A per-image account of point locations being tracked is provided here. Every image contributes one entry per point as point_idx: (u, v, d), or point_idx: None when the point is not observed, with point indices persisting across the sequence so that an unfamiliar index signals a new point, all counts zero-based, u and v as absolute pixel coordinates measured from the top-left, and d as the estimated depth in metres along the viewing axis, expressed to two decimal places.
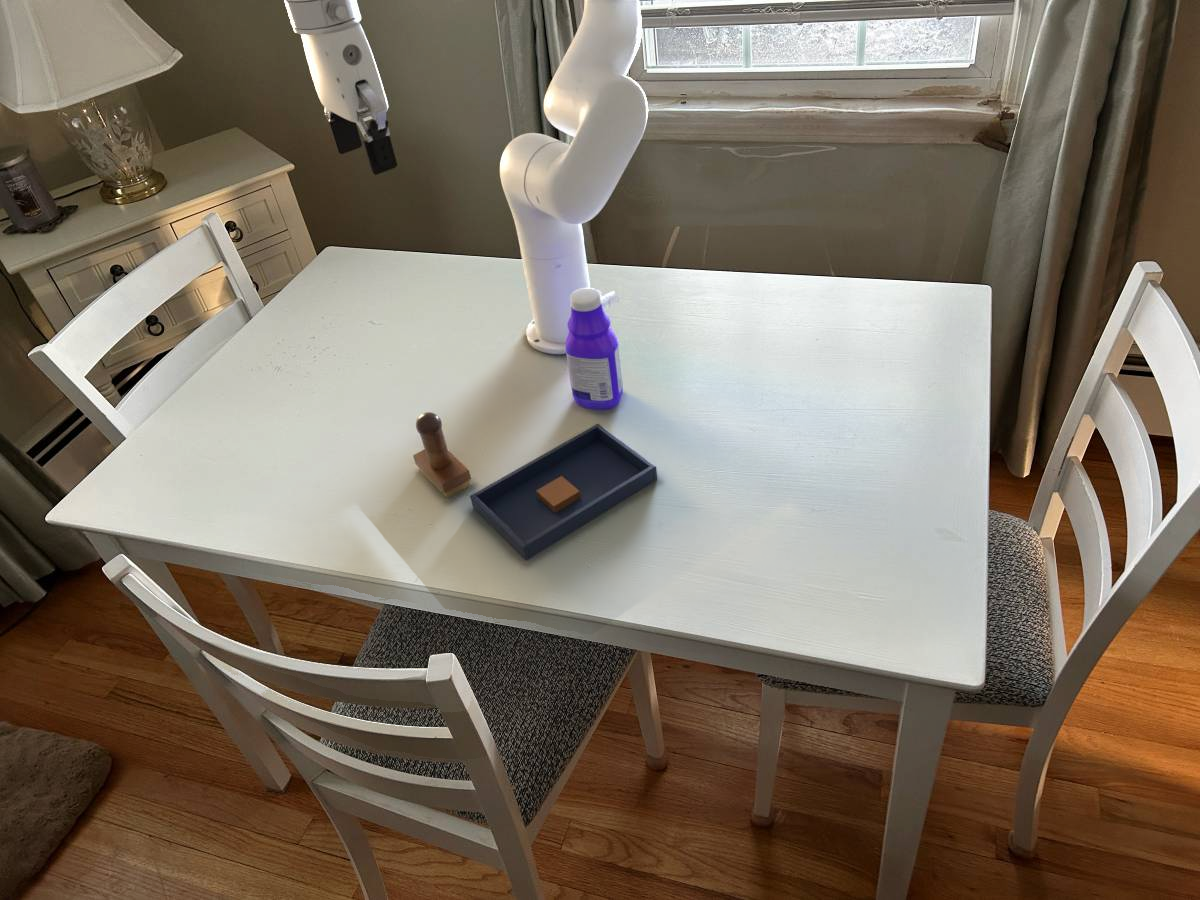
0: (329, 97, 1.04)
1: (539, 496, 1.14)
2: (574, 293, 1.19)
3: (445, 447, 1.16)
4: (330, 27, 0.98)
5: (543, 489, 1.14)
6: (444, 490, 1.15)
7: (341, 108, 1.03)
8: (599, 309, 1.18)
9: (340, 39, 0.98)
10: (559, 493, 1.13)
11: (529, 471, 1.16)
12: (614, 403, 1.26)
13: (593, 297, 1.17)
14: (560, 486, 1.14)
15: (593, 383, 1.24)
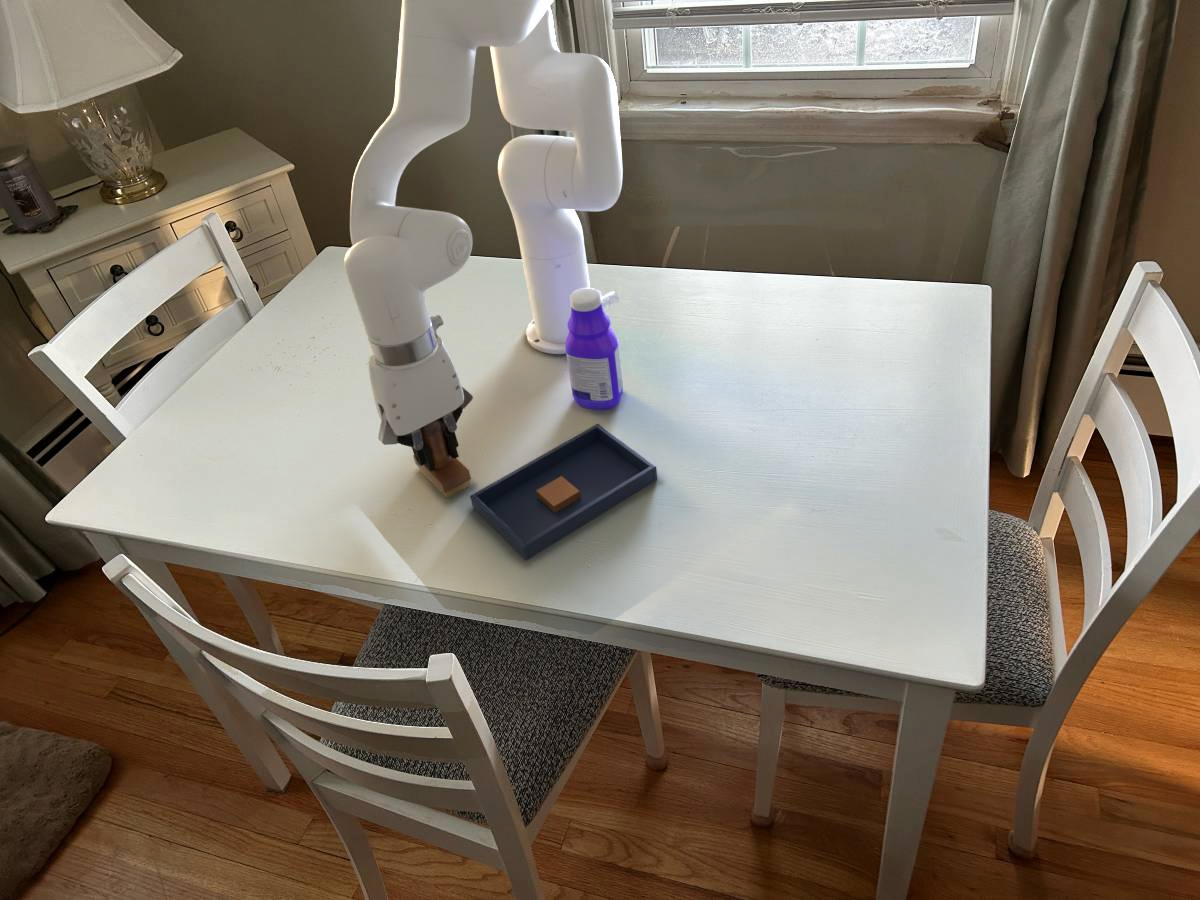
0: (431, 408, 1.10)
1: (539, 496, 1.14)
2: (574, 293, 1.19)
3: (445, 447, 1.16)
4: None
5: (543, 489, 1.14)
6: (444, 490, 1.15)
7: (449, 404, 1.12)
8: (599, 309, 1.18)
9: None
10: (559, 493, 1.13)
11: (529, 471, 1.16)
12: (614, 403, 1.26)
13: (593, 297, 1.17)
14: (560, 486, 1.14)
15: (593, 383, 1.24)
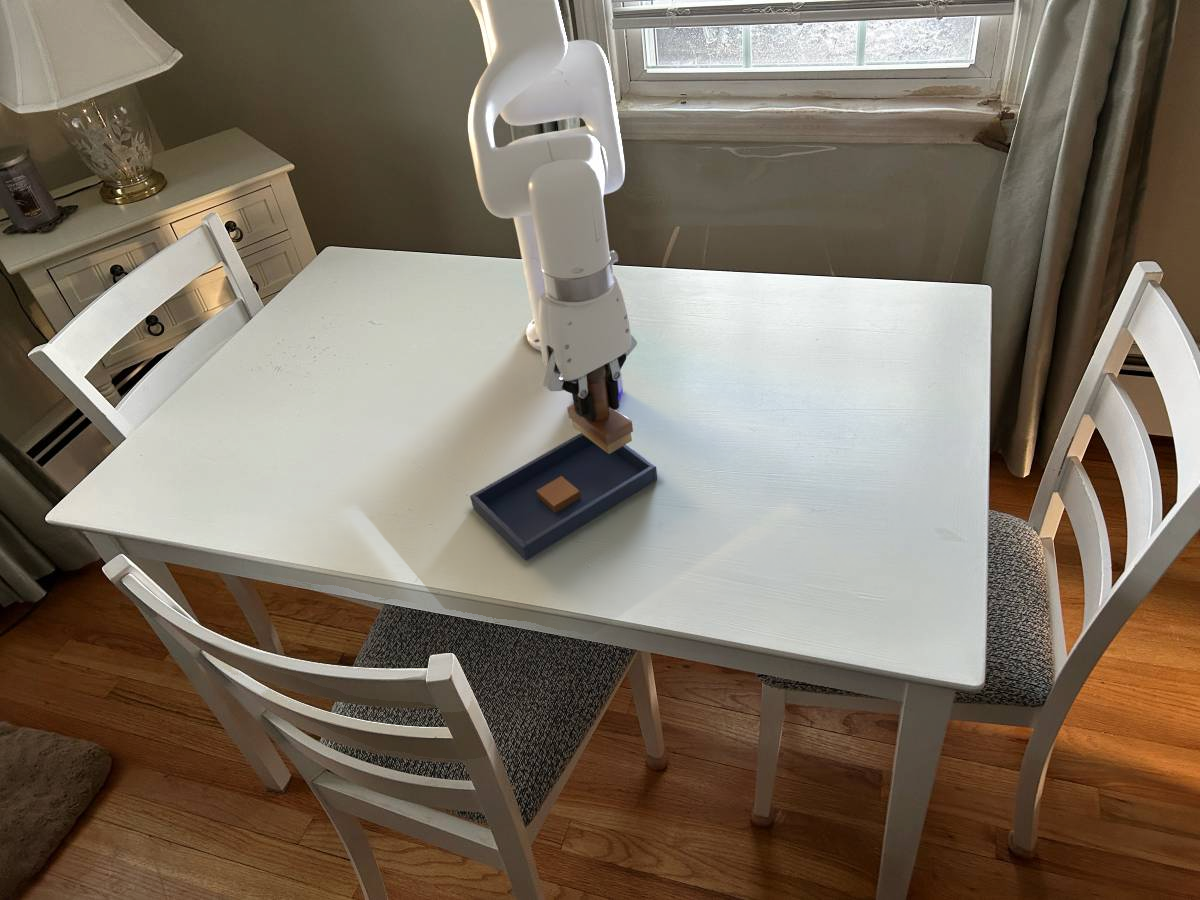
0: (600, 352, 1.03)
1: (539, 496, 1.14)
2: None
3: (607, 397, 1.09)
4: None
5: (543, 489, 1.14)
6: (607, 442, 1.08)
7: (617, 348, 1.04)
8: None
9: None
10: (559, 493, 1.13)
11: (529, 471, 1.16)
12: None
13: None
14: (560, 486, 1.14)
15: None
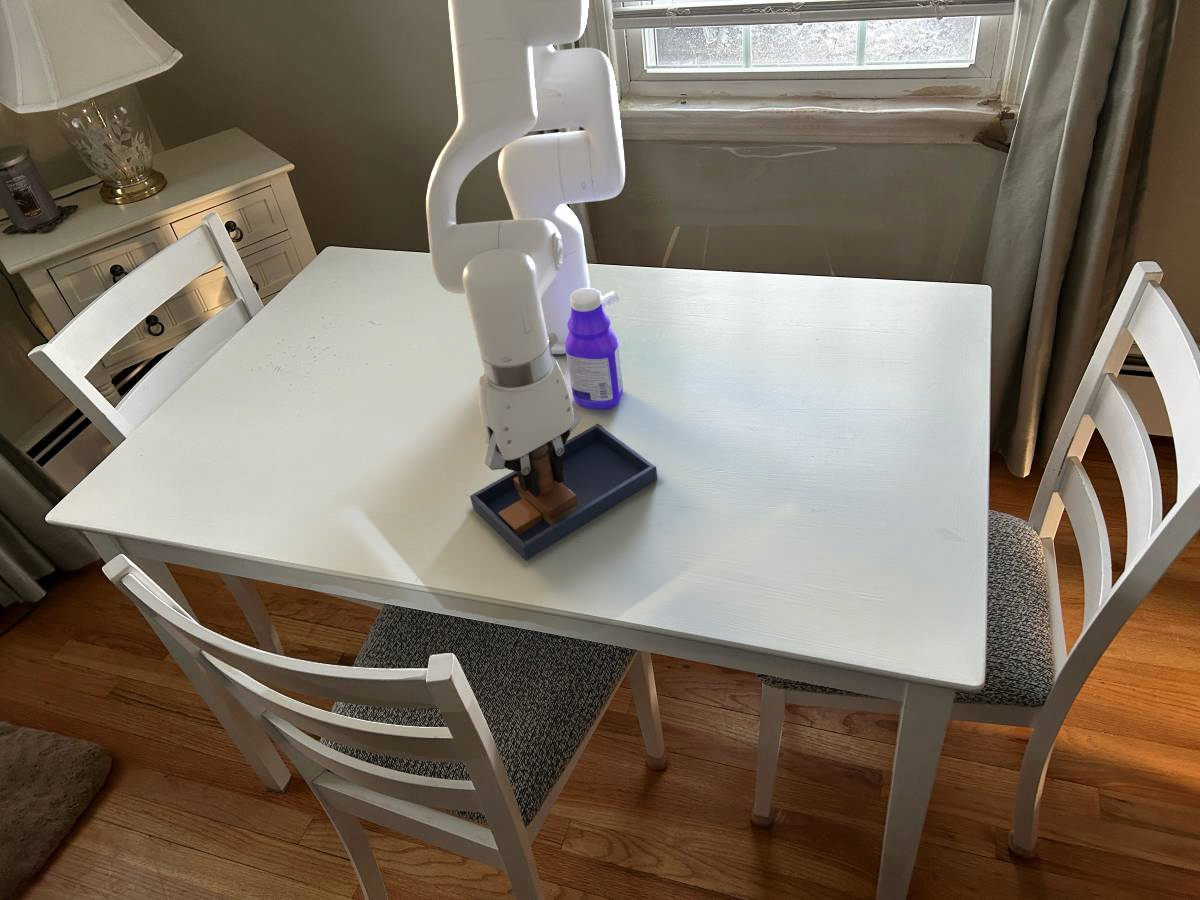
0: (541, 431, 1.03)
1: (501, 518, 1.11)
2: (574, 293, 1.19)
3: (551, 471, 1.09)
4: None
5: (505, 511, 1.11)
6: (550, 517, 1.09)
7: (559, 427, 1.05)
8: (599, 309, 1.18)
9: None
10: (521, 516, 1.10)
11: None
12: (614, 403, 1.26)
13: (593, 297, 1.17)
14: (522, 508, 1.11)
15: (593, 383, 1.24)
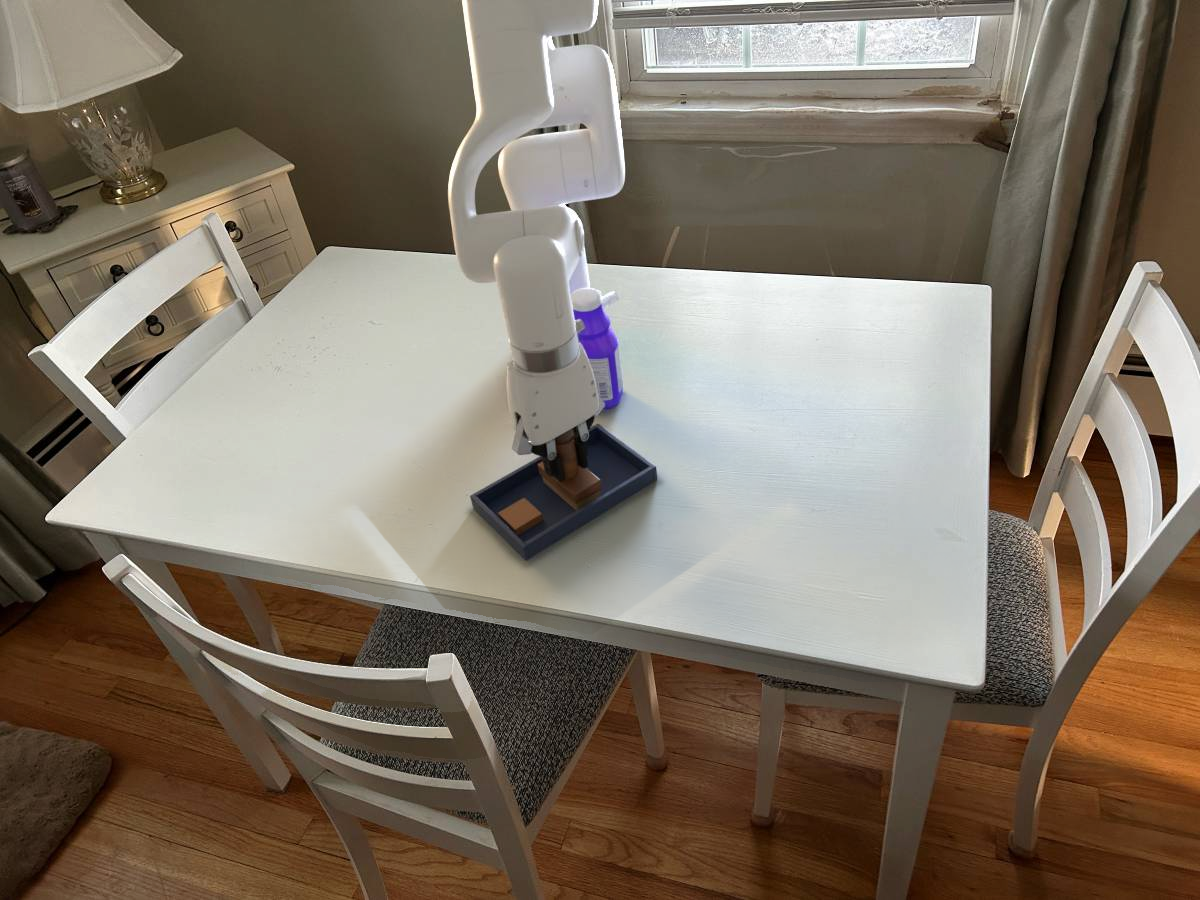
0: (568, 417, 1.05)
1: (501, 518, 1.11)
2: (574, 293, 1.19)
3: (576, 456, 1.11)
4: None
5: (505, 511, 1.11)
6: (576, 501, 1.10)
7: (585, 412, 1.06)
8: (599, 309, 1.18)
9: None
10: (521, 516, 1.10)
11: (529, 471, 1.16)
12: (614, 403, 1.26)
13: (593, 297, 1.17)
14: (522, 508, 1.11)
15: None
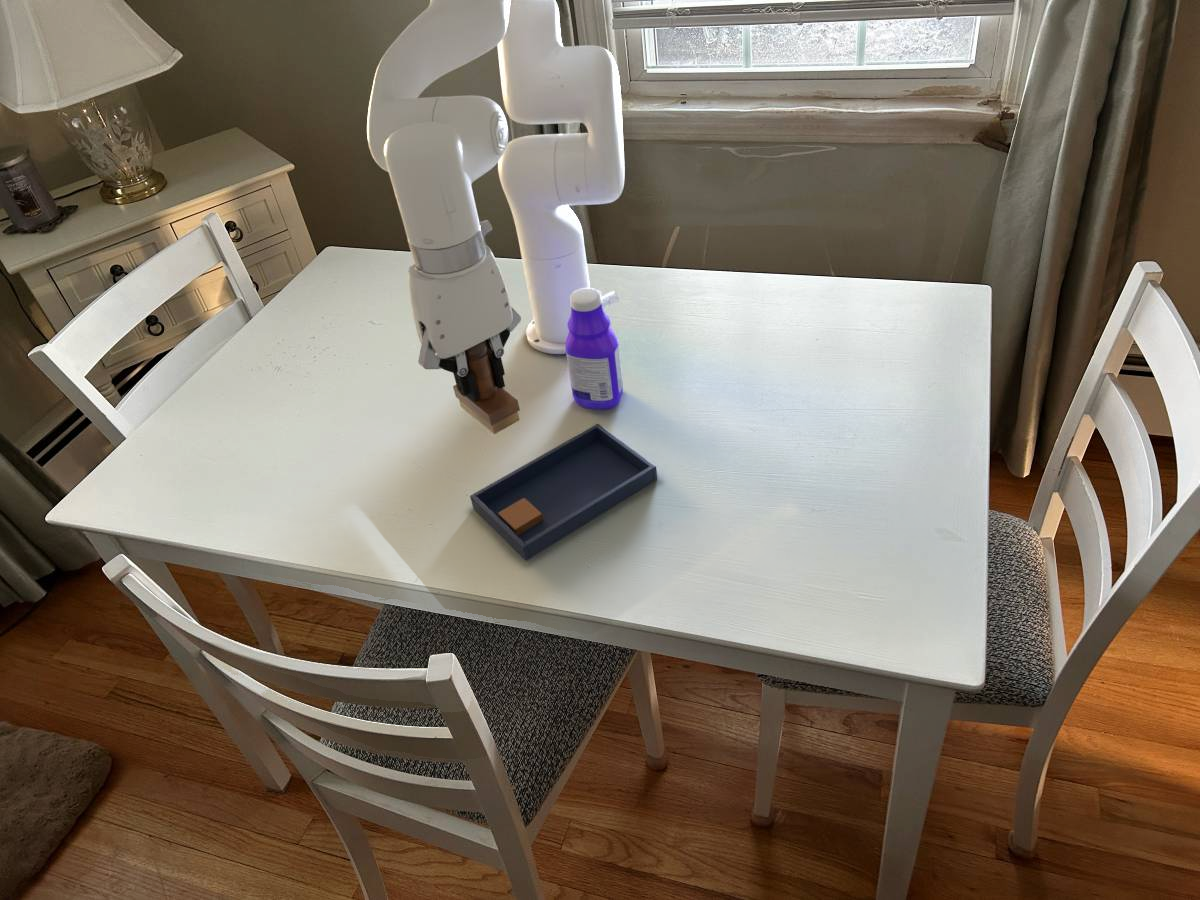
0: (477, 327, 0.98)
1: (501, 518, 1.11)
2: (574, 293, 1.19)
3: (491, 374, 1.04)
4: None
5: (505, 511, 1.11)
6: (491, 422, 1.03)
7: (497, 324, 0.99)
8: (599, 309, 1.18)
9: None
10: (521, 516, 1.10)
11: (529, 471, 1.16)
12: (614, 403, 1.26)
13: (593, 297, 1.17)
14: (522, 508, 1.11)
15: (593, 383, 1.24)
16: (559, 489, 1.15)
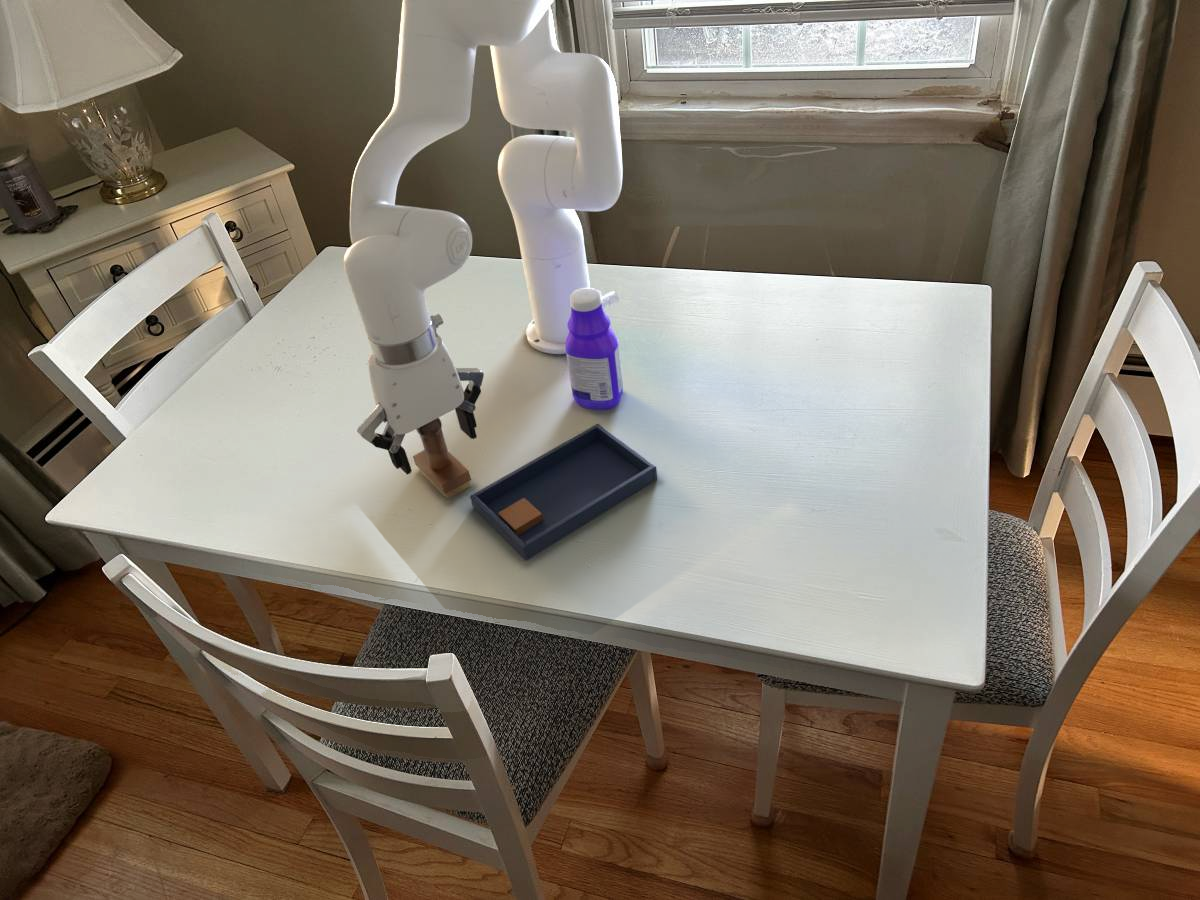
0: (431, 407, 1.10)
1: (501, 518, 1.11)
2: (574, 293, 1.19)
3: (445, 448, 1.16)
4: (435, 338, 1.07)
5: (505, 511, 1.11)
6: (444, 491, 1.15)
7: (449, 403, 1.11)
8: (599, 309, 1.18)
9: (443, 342, 1.08)
10: (521, 516, 1.10)
11: (529, 471, 1.16)
12: (614, 403, 1.26)
13: (593, 297, 1.17)
14: (522, 508, 1.11)
15: (593, 383, 1.24)
16: (559, 489, 1.15)
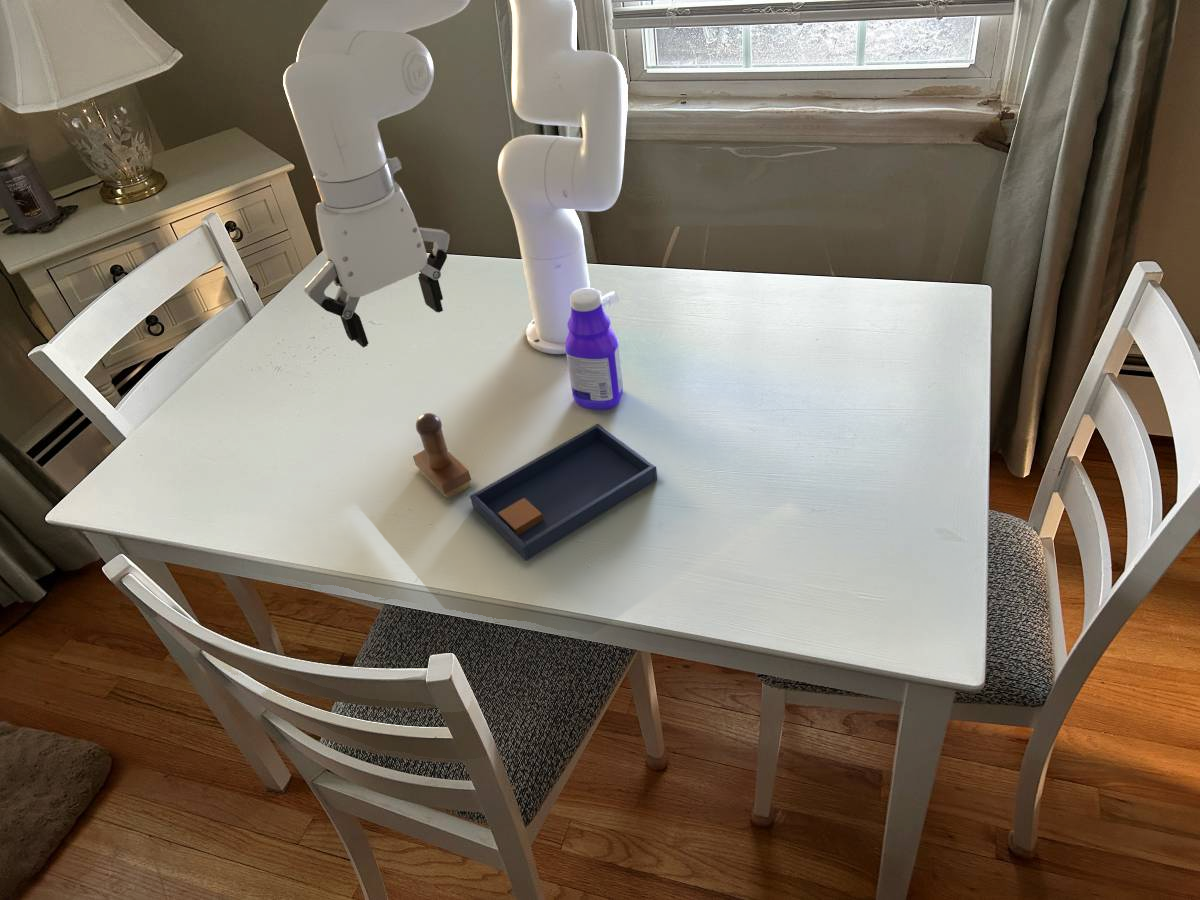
0: (388, 267, 0.97)
1: (501, 518, 1.11)
2: (574, 293, 1.19)
3: (445, 448, 1.16)
4: (392, 184, 0.95)
5: (505, 511, 1.11)
6: (444, 491, 1.15)
7: (410, 264, 0.99)
8: (599, 309, 1.18)
9: (401, 190, 0.96)
10: (521, 516, 1.10)
11: (529, 471, 1.16)
12: (614, 403, 1.26)
13: (593, 297, 1.17)
14: (522, 508, 1.11)
15: (593, 383, 1.24)
16: (559, 489, 1.15)
